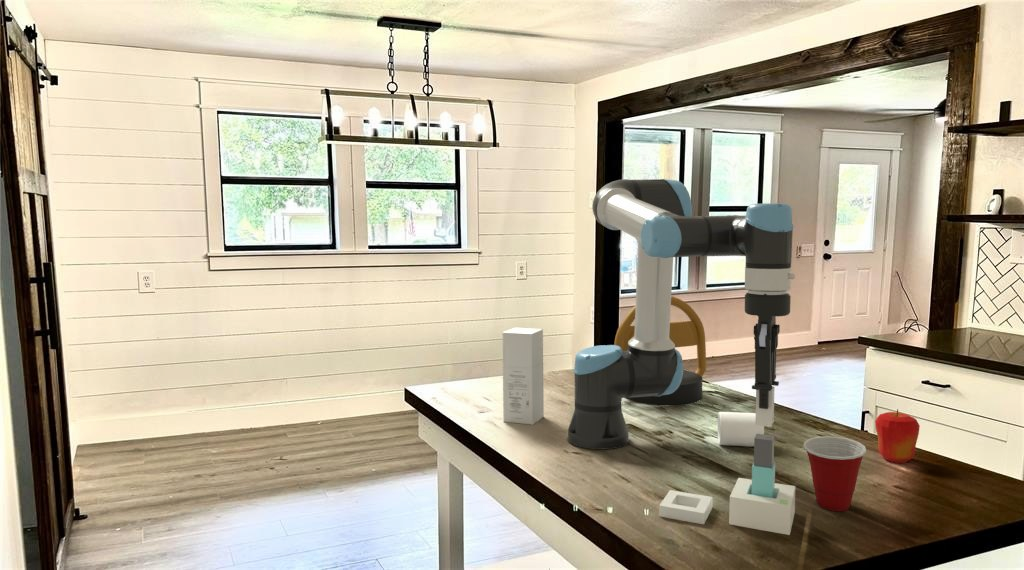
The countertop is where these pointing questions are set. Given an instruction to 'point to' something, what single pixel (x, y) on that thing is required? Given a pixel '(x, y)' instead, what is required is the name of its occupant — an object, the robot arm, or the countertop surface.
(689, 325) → the chair
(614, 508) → the countertop surface
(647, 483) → the countertop surface
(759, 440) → the plug
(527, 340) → the tall white carton
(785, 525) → the port
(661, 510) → the holster
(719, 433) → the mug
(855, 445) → the plastic cup
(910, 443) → the apple
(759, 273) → the robot arm
